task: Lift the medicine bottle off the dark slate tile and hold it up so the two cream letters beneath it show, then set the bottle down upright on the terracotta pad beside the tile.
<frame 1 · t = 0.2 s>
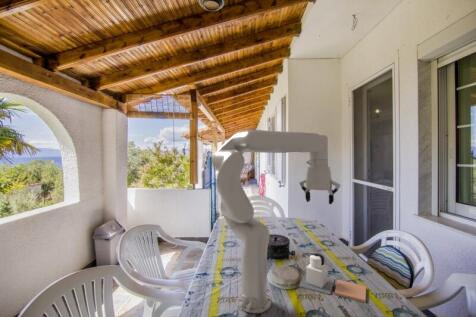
hand: (319, 202, 106), 35 cm above the table, tool pointing down, fingers open, 9 cm apart
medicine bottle: (316, 282, 106), resting on code tile
terracotta pad: (350, 291, 100), on the table
code tile: (316, 283, 106), on the table
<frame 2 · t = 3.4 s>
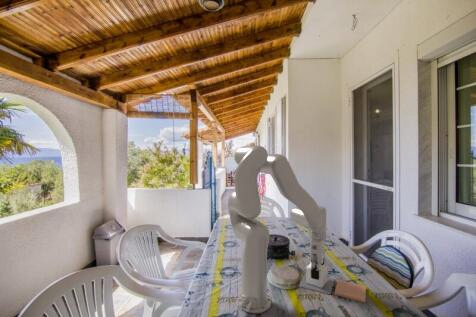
hand: (317, 274, 106), 4 cm above the table, tool pointing down, fingers closed on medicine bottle, 7 cm apart
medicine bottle: (316, 282, 106), resting on code tile, touching gripper
when the fingers open (6 cm above the table, at t = 12.5 s): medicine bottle drops 1 cm, resting on terracotta pad.
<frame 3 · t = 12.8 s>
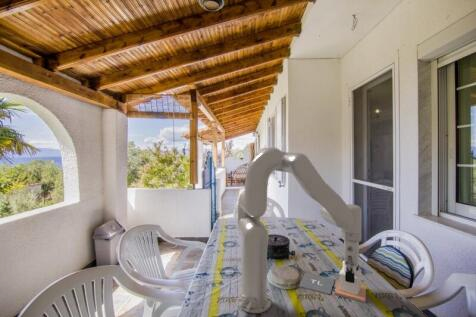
hand: (350, 276, 100), 6 cm above the table, tool pointing down, fingers open, 9 cm apart
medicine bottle: (350, 289, 100), point 1 cm above the table, touching terracotta pad
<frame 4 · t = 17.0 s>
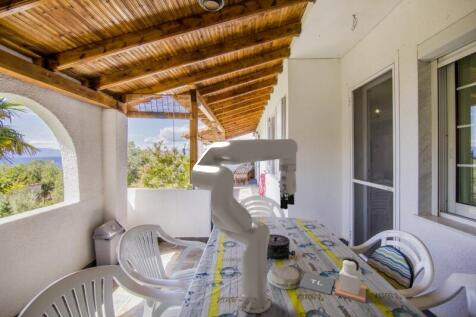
hand: (287, 206, 108), 33 cm above the table, tool pointing down, fingers open, 9 cm apart
nothing on the table moved.
at the end: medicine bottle 0.2 cm off-centre on the terracotta pad, point 0.8 cm above the terracotta pad's base; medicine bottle tilted 0°; the gripper is holding nothing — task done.
